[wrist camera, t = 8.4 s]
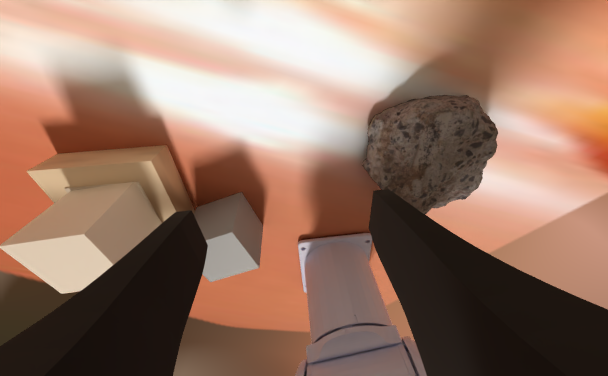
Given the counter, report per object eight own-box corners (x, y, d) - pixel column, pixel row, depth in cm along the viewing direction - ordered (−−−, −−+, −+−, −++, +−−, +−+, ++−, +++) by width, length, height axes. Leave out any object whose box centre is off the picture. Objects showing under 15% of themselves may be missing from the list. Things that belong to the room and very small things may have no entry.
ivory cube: (164, 227, 19) (131, 283, 14) (109, 235, 19) (61, 293, 14) (134, 181, 16) (83, 234, 12) (70, 190, 16) (-2, 246, 12)
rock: (417, 204, 23) (440, 233, 20) (338, 149, 19) (351, 175, 16) (500, 135, 20) (545, 157, 16) (424, 49, 15) (464, 55, 12)
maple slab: (201, 218, 22) (190, 243, 20) (117, 226, 22) (95, 252, 19) (168, 142, 18) (150, 161, 15) (62, 151, 17) (25, 172, 15)
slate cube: (263, 225, 23) (259, 267, 19) (222, 238, 23) (210, 282, 19) (241, 191, 20) (232, 232, 16) (197, 206, 21) (177, 249, 17)
